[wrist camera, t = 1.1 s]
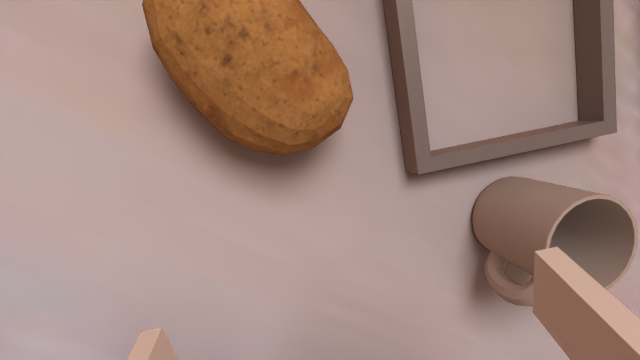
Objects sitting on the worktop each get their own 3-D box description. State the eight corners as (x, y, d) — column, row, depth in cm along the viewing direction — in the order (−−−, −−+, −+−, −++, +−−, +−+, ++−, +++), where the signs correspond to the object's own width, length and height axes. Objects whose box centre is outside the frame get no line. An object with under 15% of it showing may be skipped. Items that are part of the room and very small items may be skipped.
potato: (212, -50, 26) (194, -120, 19) (360, 79, 30) (398, 64, 22) (130, 60, 27) (78, 36, 19) (286, 176, 30) (297, 196, 22)
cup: (554, 198, 34) (656, 224, 26) (499, 290, 35) (580, 346, 26) (496, 160, 33) (583, 175, 24) (439, 258, 33) (503, 306, 25)
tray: (590, 131, 34) (616, 132, 32) (405, 170, 31) (418, 174, 29) (582, -86, 31) (610, -103, 28) (374, -61, 28) (385, -78, 26)
